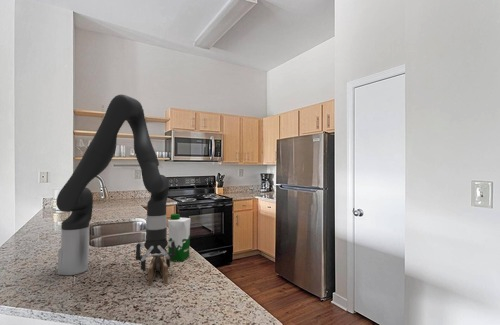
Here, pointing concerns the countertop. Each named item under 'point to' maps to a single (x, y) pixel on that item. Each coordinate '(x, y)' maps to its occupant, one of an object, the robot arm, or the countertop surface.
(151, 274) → the tong frame
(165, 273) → the tong arm
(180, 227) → the milk carton
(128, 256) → the countertop surface
